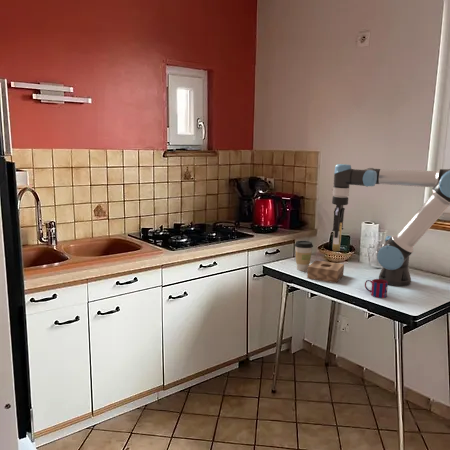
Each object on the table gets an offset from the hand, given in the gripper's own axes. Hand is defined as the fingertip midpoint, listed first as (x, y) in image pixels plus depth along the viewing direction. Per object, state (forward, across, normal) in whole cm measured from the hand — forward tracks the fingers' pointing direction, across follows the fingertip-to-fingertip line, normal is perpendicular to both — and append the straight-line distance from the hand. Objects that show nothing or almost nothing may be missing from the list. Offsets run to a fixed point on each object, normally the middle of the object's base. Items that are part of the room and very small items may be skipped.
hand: (336, 243), depth 226 cm
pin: (+4, 0, 0) cm, 4 cm away
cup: (+19, +13, +22) cm, 32 cm away
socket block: (+19, -3, -5) cm, 20 cm away
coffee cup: (+20, -11, -19) cm, 30 cm away
